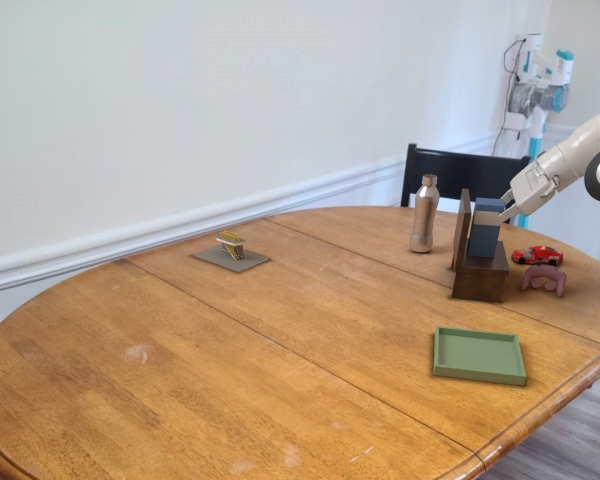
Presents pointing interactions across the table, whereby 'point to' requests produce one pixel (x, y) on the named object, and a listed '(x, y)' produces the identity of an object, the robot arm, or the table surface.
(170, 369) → the table surface
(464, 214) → the wooden toy chair
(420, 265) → the table surface
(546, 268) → the video game controller
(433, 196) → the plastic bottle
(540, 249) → the race car
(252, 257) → the platform
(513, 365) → the tray
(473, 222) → the box
